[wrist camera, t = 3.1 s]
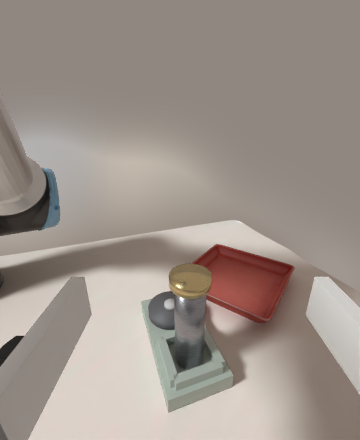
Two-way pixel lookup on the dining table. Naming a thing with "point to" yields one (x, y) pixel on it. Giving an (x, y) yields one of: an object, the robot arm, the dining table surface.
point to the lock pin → (189, 312)
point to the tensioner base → (166, 363)
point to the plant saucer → (245, 281)
